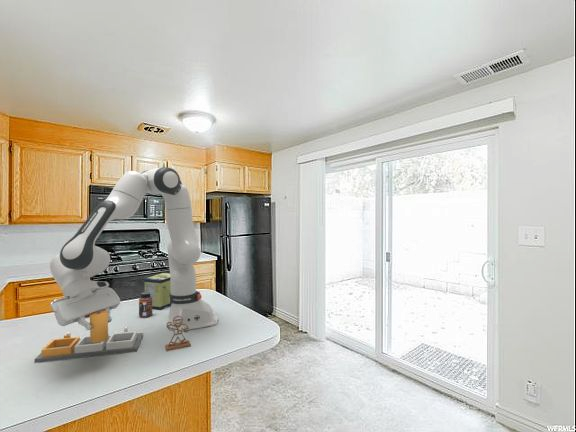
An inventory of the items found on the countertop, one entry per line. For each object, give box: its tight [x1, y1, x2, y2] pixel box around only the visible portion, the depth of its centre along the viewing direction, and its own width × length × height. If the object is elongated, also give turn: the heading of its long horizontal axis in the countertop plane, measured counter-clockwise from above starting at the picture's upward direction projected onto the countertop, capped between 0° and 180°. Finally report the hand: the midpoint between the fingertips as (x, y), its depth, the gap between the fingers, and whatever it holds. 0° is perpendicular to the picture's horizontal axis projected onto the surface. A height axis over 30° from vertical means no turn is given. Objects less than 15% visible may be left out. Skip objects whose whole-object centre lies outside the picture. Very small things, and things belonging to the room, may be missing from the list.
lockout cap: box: [89, 311, 109, 343], centre depth 105 cm, size 5×5×9 cm
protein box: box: [144, 272, 171, 311], centre depth 168 cm, size 10×16×16 cm
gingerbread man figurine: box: [164, 316, 191, 352], centre depth 119 cm, size 9×4×12 cm, turn 118°
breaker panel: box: [33, 326, 144, 364], centre depth 118 cm, size 32×14×5 cm, turn 106°
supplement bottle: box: [138, 291, 153, 318], centre depth 151 cm, size 6×6×11 cm
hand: (100, 325), depth 105 cm, fingers closed on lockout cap, 5 cm apart
